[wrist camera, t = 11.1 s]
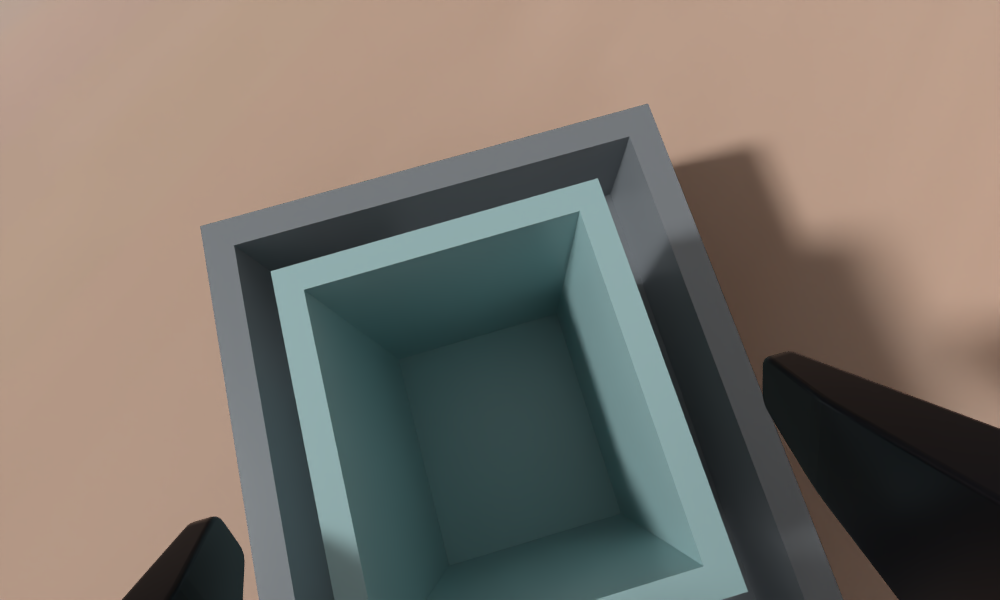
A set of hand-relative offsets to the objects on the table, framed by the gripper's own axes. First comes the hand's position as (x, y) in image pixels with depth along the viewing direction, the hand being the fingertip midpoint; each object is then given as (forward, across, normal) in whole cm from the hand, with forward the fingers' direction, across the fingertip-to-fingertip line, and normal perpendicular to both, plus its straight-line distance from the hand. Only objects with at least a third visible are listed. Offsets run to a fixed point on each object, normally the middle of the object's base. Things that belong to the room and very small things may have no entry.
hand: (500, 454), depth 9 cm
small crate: (+6, 0, +6) cm, 8 cm away
